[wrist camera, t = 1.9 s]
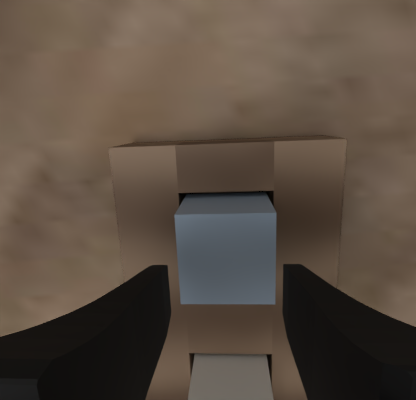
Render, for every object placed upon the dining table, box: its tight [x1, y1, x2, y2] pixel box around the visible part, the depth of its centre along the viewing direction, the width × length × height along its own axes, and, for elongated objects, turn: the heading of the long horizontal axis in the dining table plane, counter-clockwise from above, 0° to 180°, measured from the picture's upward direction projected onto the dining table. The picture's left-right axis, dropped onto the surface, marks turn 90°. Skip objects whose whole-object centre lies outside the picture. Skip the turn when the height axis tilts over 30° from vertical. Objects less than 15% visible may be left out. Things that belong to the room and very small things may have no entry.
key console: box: [109, 136, 347, 400], centre depth 20 cm, size 20×12×4 cm, turn 2°
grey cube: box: [174, 192, 276, 304], centre depth 16 cm, size 4×4×4 cm
